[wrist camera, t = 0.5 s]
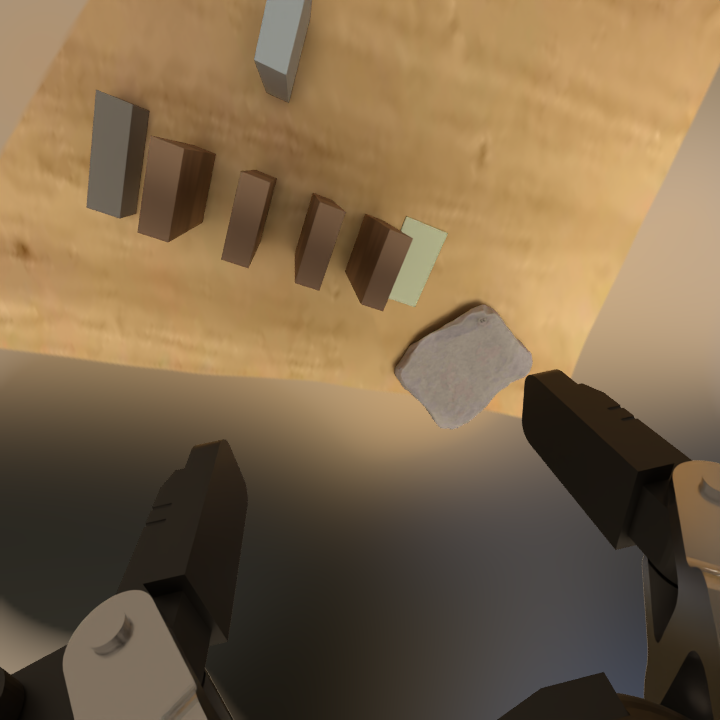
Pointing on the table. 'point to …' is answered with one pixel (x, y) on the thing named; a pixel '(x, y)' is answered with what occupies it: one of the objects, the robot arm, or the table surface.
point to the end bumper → (116, 155)
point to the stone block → (463, 366)
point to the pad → (417, 261)
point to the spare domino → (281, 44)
